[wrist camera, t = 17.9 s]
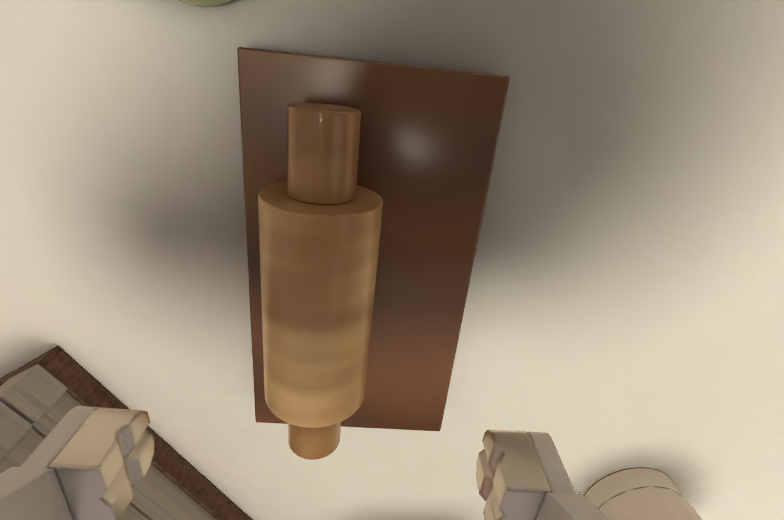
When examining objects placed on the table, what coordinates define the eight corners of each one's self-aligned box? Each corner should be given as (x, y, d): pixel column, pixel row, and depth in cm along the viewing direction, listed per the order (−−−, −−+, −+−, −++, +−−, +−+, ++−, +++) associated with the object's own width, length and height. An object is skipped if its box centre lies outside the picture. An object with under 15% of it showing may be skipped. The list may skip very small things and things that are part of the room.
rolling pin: (304, 97, 16) (223, 100, 13) (409, 112, 15) (354, 121, 11) (300, 394, 23) (245, 455, 19) (375, 423, 21) (332, 496, 18)
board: (248, 48, 16) (236, 46, 15) (499, 75, 17) (510, 76, 16) (262, 402, 24) (255, 422, 22) (437, 411, 25) (440, 432, 23)
